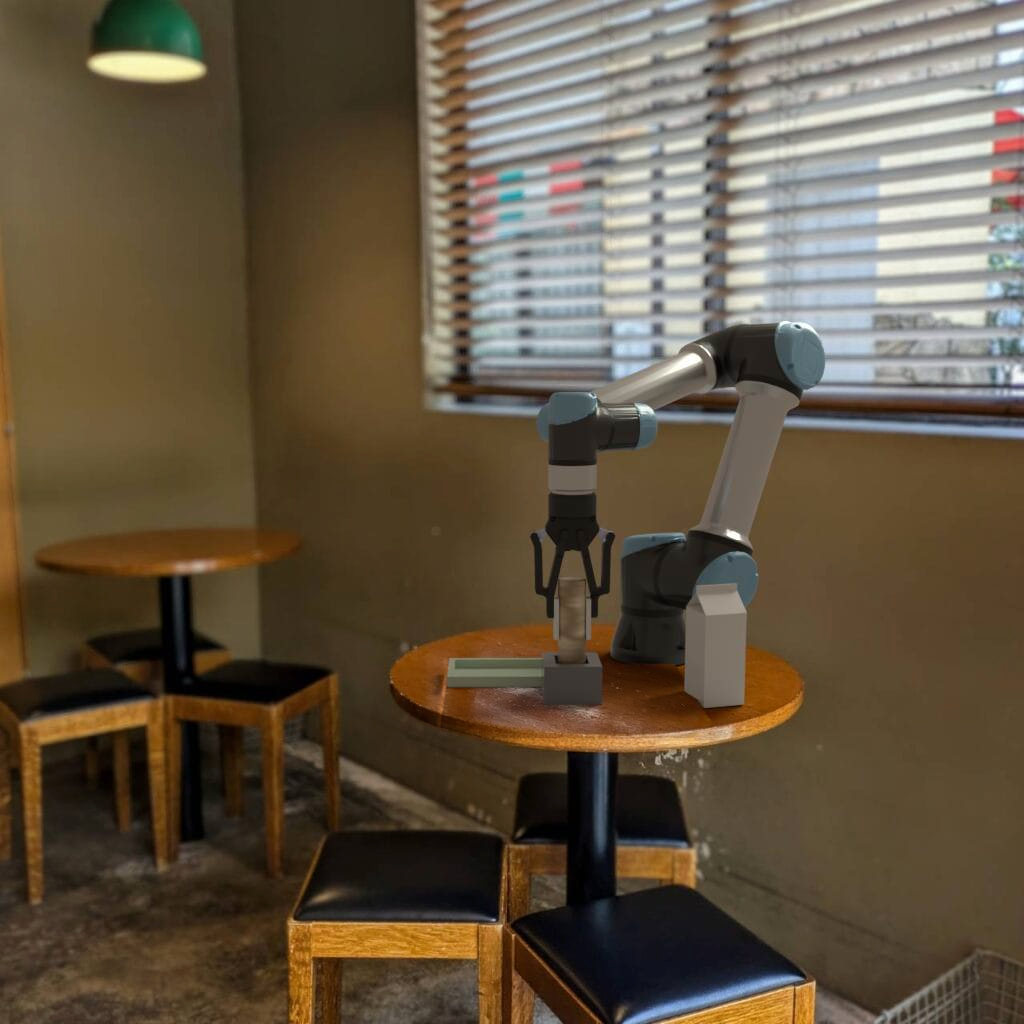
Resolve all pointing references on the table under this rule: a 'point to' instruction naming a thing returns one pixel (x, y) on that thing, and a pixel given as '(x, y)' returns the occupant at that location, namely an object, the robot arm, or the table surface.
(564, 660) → the dowel
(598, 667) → the square block with hole
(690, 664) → the milk carton
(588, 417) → the robot arm
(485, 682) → the tray
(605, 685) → the table surface
